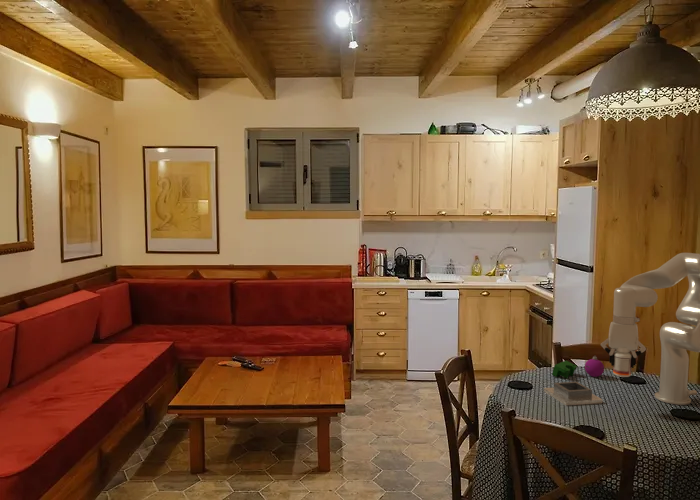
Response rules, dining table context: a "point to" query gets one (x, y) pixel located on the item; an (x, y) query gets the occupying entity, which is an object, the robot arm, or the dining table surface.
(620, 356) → the pill bottle
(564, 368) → the green lumpy block
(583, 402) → the docking plate
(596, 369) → the christmas ornament
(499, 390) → the dining table surface
